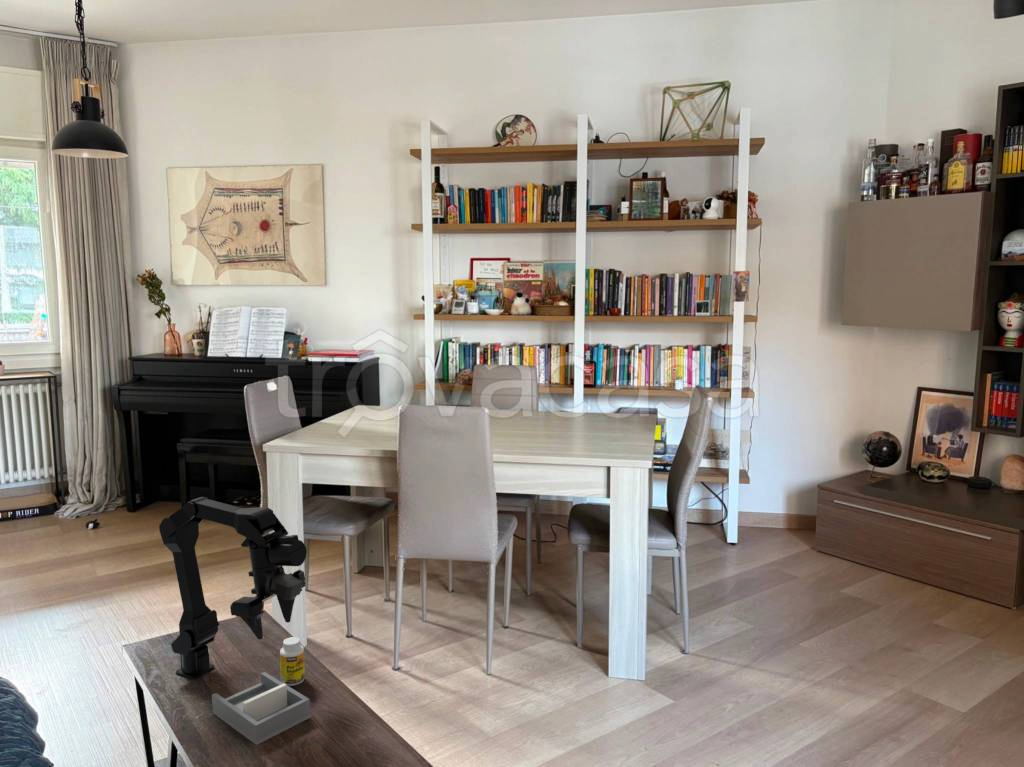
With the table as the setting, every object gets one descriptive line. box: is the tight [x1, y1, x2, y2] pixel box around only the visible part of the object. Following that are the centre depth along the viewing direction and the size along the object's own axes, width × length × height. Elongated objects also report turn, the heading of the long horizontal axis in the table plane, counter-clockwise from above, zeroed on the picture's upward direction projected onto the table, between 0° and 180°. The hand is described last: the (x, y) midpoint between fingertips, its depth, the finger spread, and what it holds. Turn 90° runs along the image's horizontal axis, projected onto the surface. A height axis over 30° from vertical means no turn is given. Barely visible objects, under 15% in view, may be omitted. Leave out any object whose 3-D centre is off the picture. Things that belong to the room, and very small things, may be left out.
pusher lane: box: [211, 671, 311, 746], centre depth 164 cm, size 18×13×4 cm
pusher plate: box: [243, 684, 287, 721], centre depth 163 cm, size 1×10×5 cm, turn 140°
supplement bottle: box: [279, 636, 306, 687], centre depth 178 cm, size 6×6×10 cm
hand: (274, 630), depth 171 cm, fingers open, 9 cm apart
